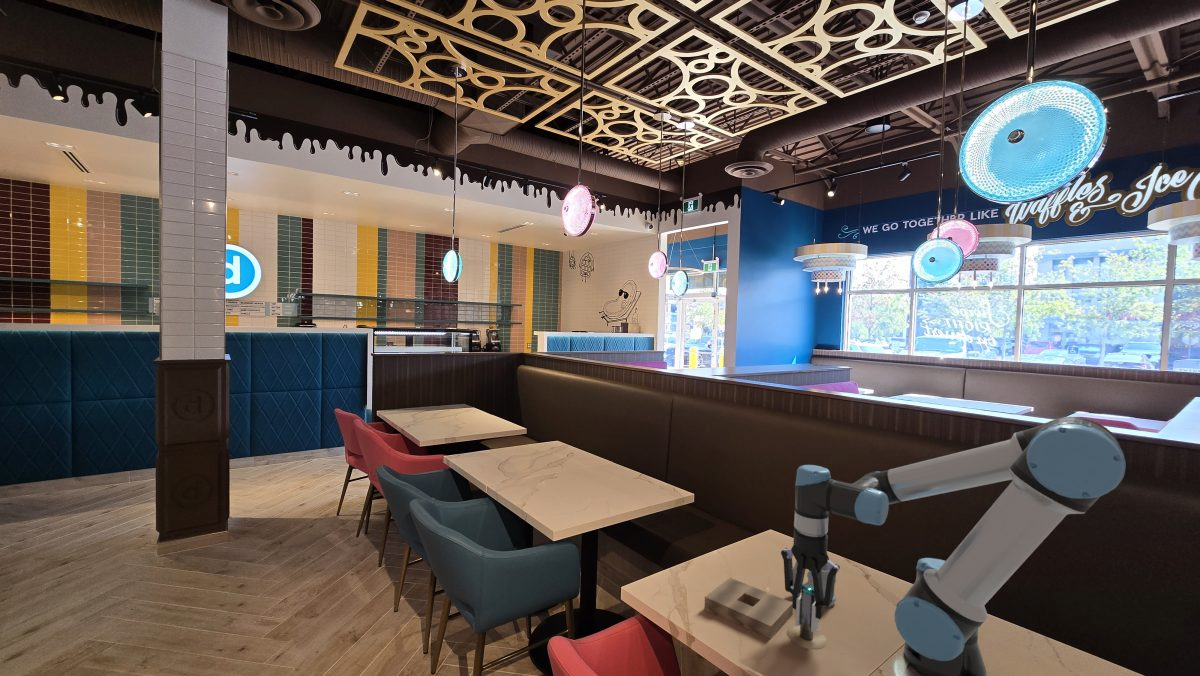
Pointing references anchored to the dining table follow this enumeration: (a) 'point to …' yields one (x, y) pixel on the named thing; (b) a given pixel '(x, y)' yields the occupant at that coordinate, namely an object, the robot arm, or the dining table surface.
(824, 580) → the mug
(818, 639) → the coaster
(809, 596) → the peg
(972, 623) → the robot arm
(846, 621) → the dining table surface
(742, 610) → the hole board
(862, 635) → the dining table surface
